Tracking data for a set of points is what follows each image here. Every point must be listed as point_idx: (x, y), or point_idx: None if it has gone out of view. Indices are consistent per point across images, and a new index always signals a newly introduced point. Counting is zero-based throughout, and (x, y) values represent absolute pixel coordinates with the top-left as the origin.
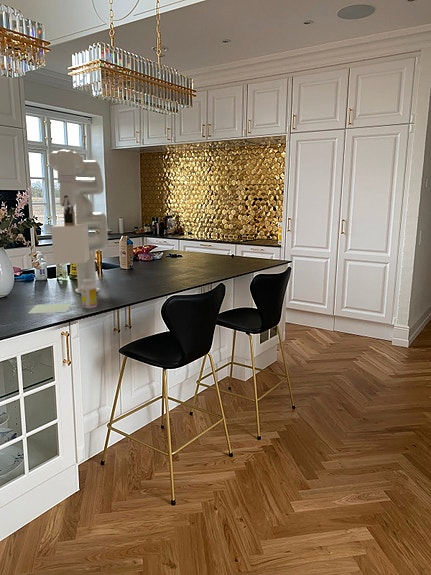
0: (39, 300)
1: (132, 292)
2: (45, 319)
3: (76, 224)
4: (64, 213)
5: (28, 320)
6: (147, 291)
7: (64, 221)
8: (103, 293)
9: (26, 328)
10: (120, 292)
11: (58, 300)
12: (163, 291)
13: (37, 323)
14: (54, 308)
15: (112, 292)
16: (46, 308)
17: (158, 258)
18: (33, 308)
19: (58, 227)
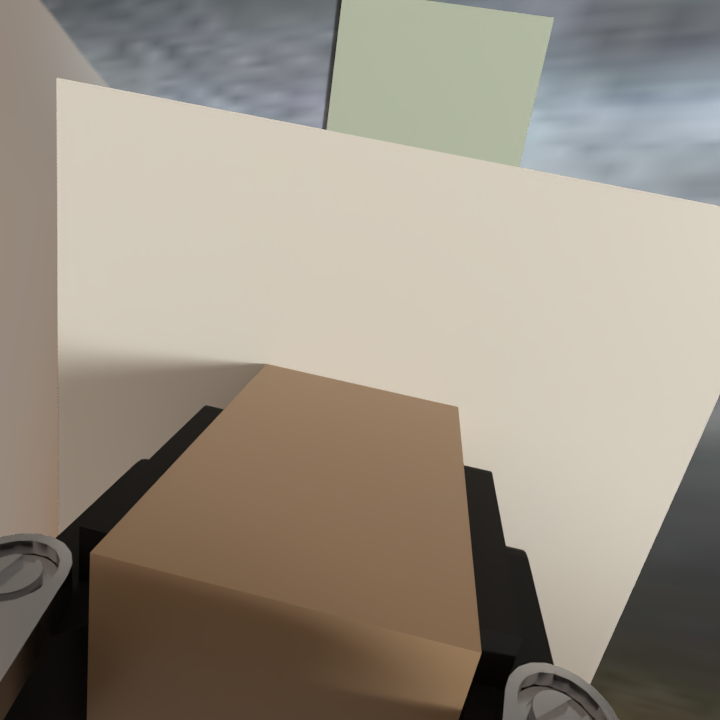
0: (706, 26)
1: (659, 557)
2: (215, 102)
3: (573, 598)
4: (130, 538)
5: (215, 11)
6: (646, 622)
7: (237, 404)
8: (715, 421)
9: (76, 20)
10: (693, 505)
11: (643, 156)
12: (607, 679)
13: (151, 67)
14: (412, 140)
15: (717, 468)
16: (428, 93)
17: None
18: (455, 10)
19: (69, 239)
